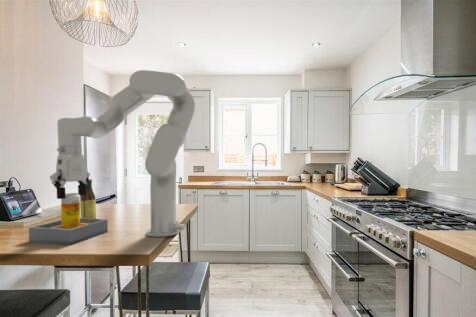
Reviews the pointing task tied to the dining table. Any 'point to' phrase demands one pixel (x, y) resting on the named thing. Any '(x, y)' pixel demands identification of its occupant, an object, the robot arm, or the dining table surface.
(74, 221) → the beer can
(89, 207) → the sauce bottle
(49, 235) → the walled box
